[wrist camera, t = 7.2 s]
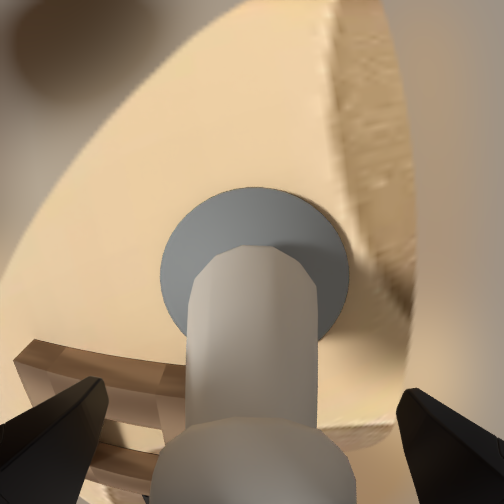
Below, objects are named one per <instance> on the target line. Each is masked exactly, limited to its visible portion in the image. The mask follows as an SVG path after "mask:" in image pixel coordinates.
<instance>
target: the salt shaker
mask: <svg viewBox="0 0 504 504" xmlns="http://www.w3.org/2000/svg"><path fill="white" fill-rule="evenodd" d="M317 394H318V305H317V289H316V285H315V283H314V282H313V281H312V279H311V278H310V276H309V275H308V273H307V272H306V271H305V269H304V268H303V266H302V265H301V264H300V263H299V262H298V261H297V260H295V259H294V258H292V257H290V256H288V255H287V254H285V253H283V252H281V251H280V250H278V249H276V248H274V247H273V246H254V245H241V246H239V247H236V248H233V249H231V250H228V251H226V252H223V253H220V254H218V255H216V256H215V257H214V258H213V259H212V260H211V261H210V262H209V263H208V264H207V265H206V267H205V268H204V269H203V270H202V271H201V272H200V273H199V274H198V276H197V277H196V278H195V279H194V283H193V287H192V291H191V295H190V299H189V304H188V319H187V344H186V384H185V431H183V432H182V433H180V434H179V435H178V436H176V437H175V438H173V439H172V440H171V441H169V442H168V443H167V444H166V445H165V447H164V448H163V449H162V450H161V451H160V454H159V457H158V460H157V463H156V466H155V469H154V472H153V475H152V481H151V487H150V496H149V504H356V479H355V476H354V473H353V471H352V468H351V465H350V463H349V460H348V457H347V456H346V455H345V454H344V453H343V452H342V450H341V449H340V448H339V447H338V446H337V445H336V444H335V443H334V442H333V441H331V440H330V439H329V438H328V437H327V436H326V435H325V434H324V433H323V432H322V431H321V430H319V429H317Z"/></svg>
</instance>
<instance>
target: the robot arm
mask: <svg viewBox="0 0 504 504" xmlns="http://www.w3.org/2000/svg"><path fill="white" fill-rule="evenodd" d="M108 404H109V397H108V394H107V390H106V387H105V383H104V380H103V379H102V378H100V377H96V376H88V377H86V378H84V379H83V380H81V381H79V382H77V383H76V384H74V385H72V386H70V387H69V388H67V389H65V390H63V391H61V392H60V393H58V394H56V395H54V396H53V397H51V398H49V399H47V400H45V401H44V402H42V403H40V404H38V405H36V406H35V407H33V408H31V409H29V410H27V411H26V412H24V413H22V414H20V415H18V416H16V417H15V418H13V419H11V420H9V421H7V422H6V423H5V424H1V425H0V504H76V502H77V499H78V496H79V494H80V491H81V488H82V485H83V482H84V480H85V477H86V474H87V472H88V469H89V466H90V464H91V461H92V458H93V456H94V453H95V451H96V448H97V445H98V442H99V438H100V434H101V430H102V426H103V423H104V419H105V415H106V412H107V408H108ZM396 416H397V420H398V425H399V429H400V434H401V439H402V444H403V449H404V453H405V457H406V460H407V463H408V466H409V469H410V473H411V476H412V479H413V482H414V486H415V489H416V492H417V496H418V499H419V503H420V504H504V441H503V440H502V439H500V438H497V437H496V436H495V435H493V434H491V433H490V432H488V431H486V430H485V429H483V428H482V427H480V426H478V425H477V424H475V423H473V422H472V421H470V420H468V419H467V418H465V417H463V416H462V415H460V414H459V413H457V412H455V411H454V410H452V409H451V408H449V407H447V406H446V405H444V404H442V403H441V402H439V401H438V400H436V399H434V398H433V397H431V396H430V395H428V394H426V393H425V392H423V391H422V390H420V389H418V388H412V389H406V390H405V391H404V393H403V395H402V397H401V399H400V402H399V404H398V406H397V409H396ZM142 496H143V498H144V500H145V502H146V504H149V496H147V495H143V494H142Z"/></svg>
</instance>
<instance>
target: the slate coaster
mask: <svg viewBox="0 0 504 504" xmlns="http://www.w3.org/2000/svg"><path fill="white" fill-rule="evenodd" d="M241 245H254V246H273V247H274V248H276V249H278V250H280V251H281V252H283V253H285V254H287V255H288V256H290V257H292V258H294V259H295V260H297V261H298V262H299V263H300V264H301V265H302V266H303V268H304V269H305V271H306V272H307V273H308V275H309V276H310V278H311V279H312V281H313V282H314V283H315V285H316V289H317V305H318V340H320V339H321V338H322V337H323V336H324V335H325V334H326V333H327V332H328V331H329V329H330V328H331V327H332V325H333V324H334V323H335V321H336V319H337V318H338V316H339V314H340V312H341V310H342V308H343V305H344V303H345V300H346V296H347V292H348V284H349V266H348V260H347V255H346V252H345V249H344V246H343V243H342V241H341V239H340V237H339V235H338V233H337V232H336V231H335V229H334V228H333V226H332V225H331V223H330V222H329V221H328V220H327V219H326V218H325V217H324V216H323V215H322V214H321V213H320V212H319V211H318V210H316V209H315V208H314V207H313V206H311V205H310V204H309V203H307V202H305V201H304V200H302V199H300V198H299V197H296V196H294V195H292V194H289V193H287V192H283V191H280V190H276V189H271V188H263V187H246V188H239V189H233V190H230V191H226V192H223V193H220V194H218V195H216V196H213V197H211V198H209V199H207V200H206V201H204V202H203V203H201V204H199V205H198V206H197V207H196V208H194V209H193V210H192V211H191V212H190V213H188V214H187V215H186V216H185V217H184V219H183V220H182V221H181V222H180V223H179V224H178V225H177V227H176V228H175V230H174V231H173V233H172V234H171V236H170V238H169V240H168V243H167V245H166V247H165V250H164V253H163V257H162V262H161V268H160V283H161V291H162V295H163V299H164V303H165V305H166V307H167V310H168V312H169V314H170V316H171V318H172V319H173V321H174V323H175V324H176V325H177V327H178V328H179V329H180V331H181V332H182V333H183V334H184V335H185V336H186V337H187V319H188V304H189V299H190V295H191V291H192V287H193V283H194V279H195V278H196V277H197V276H198V274H199V273H200V272H201V271H202V270H203V269H204V268H205V267H206V265H207V264H208V263H209V262H210V261H211V260H212V259H213V258H214V257H215V256H216V255H218V254H220V253H223V252H226V251H228V250H231V249H233V248H236V247H239V246H241Z"/></svg>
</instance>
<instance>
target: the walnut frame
mask: <svg viewBox="0 0 504 504" xmlns="http://www.w3.org/2000/svg"><path fill="white" fill-rule="evenodd" d="M13 361H14V364H15V367H16V369H17V372H18V374H19V377H20V379H21V382H22V384H23V386H24V389H25V391H26V393H27V395H28V398H29V400H30V402H31V404H32V406H33V407H35V406H36V405H38V404H40V403H42V402H44V401H45V400H47V399H49V398H51V397H53V396H54V395H56V394H58V393H60V392H61V391H63V390H65V389H67V388H69V387H70V386H72V385H74V384H76V383H77V382H79V381H81V380H83V379H84V378H86V377H88V376H96V377H100V378H102V379H103V380H104V383H105V387H106V390H107V394H108V397H109V404H108V408H107V412H106V415H105V419H109V420H113V421H118V422H122V423H127V424H132V425H137V426H143V427H148V428H154V429H160V430H162V432H163V437H164V442H165V445H166V444H167V443H168V442H169V441H171V440H172V439H173V438H175V437H176V436H178V435H179V434H180V433H182V432H183V431H185V384H186V366H182V365H173V364H164V363H156V362H149V361H142V360H135V359H128V358H122V357H116V356H110V355H104V354H99V353H93V352H88V351H83V350H78V349H74V348H69V347H64V346H60V345H56V344H51V343H47V342H43V341H39V340H35V339H34V340H33V341H32V342H31V343H30V344H29V345H28V346H27V347H26V348H25V349H24V350H23V351H22V352H21V353H20V354H19V355H18V356H17V357H16V358H15V359H14V360H13ZM158 457H159V455H155V454H150V453H144V452H139V451H134V450H130V449H125V448H121V447H117V446H113V445H109V444H105V443H101V442H100V441H99V442H98V445H97V448H96V451H95V453H94V456H93V458H92V461H91V464H90V466H89V469H88V472H87V474H86V477H85V479H87V480H90V481H93V482H96V483H100V484H103V485H107V486H110V487H114V488H118V489H121V490H125V491H129V492H134V493H138V494H143V495H147V496H150V487H151V481H152V475H153V472H154V469H155V466H156V463H157V460H158Z"/></svg>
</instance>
